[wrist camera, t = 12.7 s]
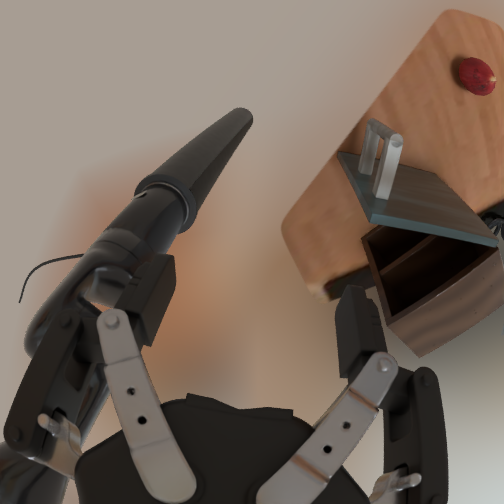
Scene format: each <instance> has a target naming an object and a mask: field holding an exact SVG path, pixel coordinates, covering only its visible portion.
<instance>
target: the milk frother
mask: <svg viewBox="0 0 504 504" xmlns="http://www.w3.org/2000/svg"><path fill="white" fill-rule="evenodd" d="M501 224H502V227H501ZM496 225H497V227H496V229H495V231H494V233H493V234H494V235H495V236H497V234H498V232H499V230H500V228H501V236H502V238H503V240H504V219H501V218H497V219H495V220H493V221H492V222H490V223H489V224H488V225H487V227H488V228H489V229H491V228H493V227H494V226H496Z"/></svg>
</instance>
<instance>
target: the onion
mask: <svg viewBox="0 0 504 504" xmlns="http://www.w3.org/2000/svg"><path fill="white" fill-rule="evenodd" d="M459 76H460V80H461V82H462V83H463V85H464V86H465V88H466V89H467V90H469V91H470V92H472V93H473V94H475V95H481V96H485V95H488V94H490V93H491V92H492V91H493V89H494V88H495V84H496V82H497V79H496V78H495V76H494V74H493V72H492V70H491V69H490V67H489V66H488V65H487V64H486V63H485V62H483V61H482V60H480V59H477V58H473V57H471V58H468V59H464V61H463V62H462V63H461V64H460V67H459Z"/></svg>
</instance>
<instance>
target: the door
mask: <svg viewBox="0 0 504 504" xmlns="http://www.w3.org/2000/svg"><path fill="white" fill-rule="evenodd" d="M380 137H381V138H382V139H384V145H383V149H382V154H381V158H380V160H379V159H375V157H376V153H377V148H378V143H379V138H380ZM402 145H403V138H402V136H401V135H400V134H398V133H397V132H395V131H394V130H392V129H390V128H389V127H387V126H386V125H384V124H382V123H381V122H379V121H377V120H376V119H373V118H372V119H369V120H368V122H367V127H366V132H365V138H364V143H363V148H362V153H361V155H356V154H350V153H345V152H340V151H338V156H337V158H338V160H339V162H340V164H341V165H342V167H343V169H344V171H345V173H346V175H347V177H348V179H349V181H350V183H351V185H352V187H353V189H354V191H355V193H356V195H357V197H358V199H359V201H360V203H361V206H362V208H363V210H364V212H365V214H366V217H367V219H368V221H369V223H372V224H378V225H385V226H390V227H396V228H402V229H408V230H413V231H419V232H424V233H429V234H434V235H439V236H444V237H449V238H454V239H459V240H464V241H469V242H473V243H478V244H482V245H487V246H491V247H496V246H497V244H498V242H499V240H498V239H497V237H496V236H495V235H494V234H493V233H492V231H491V230H490V229H489V228H488V227H487V226H486V224H485V223H484V222H483V221H482V220H481V219H480V218H479V217H478V216H477V214H476V213H475V212H474V211H473V210H472V209H471V208H470V207H469V206H468V205H467V204H466V203H465V202H464V201H463V200H462V199H461V198H460V197H459V196H458V195H457V194H456V193H455V192H454V191H453V190H452V189H451V188H450V187H449V186H448V185H447V184H446V183H445V182H444V181H442V180H441V179H440V178H439V177H438V176H437V175H436V174H433V173H430V172H427V171H423V170H420V169H416V168H412V167H408V166H404V165H401V164H398V162H399V158H400V154H401V149H402Z"/></svg>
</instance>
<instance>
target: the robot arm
mask: <svg viewBox="0 0 504 504" xmlns="http://www.w3.org/2000/svg"><path fill="white" fill-rule="evenodd" d="M132 199H133V200H132ZM132 199H131V200H132V202H131V203H130V204H129V205H128V206H127V207H126V208H125V209H124V210H123V211H122V212H121V213H120V214H119V215H118V216H117V217H116V218H115V219H114V220H113V221H112V223H111V224H110V225H109V226H108V227H107V228H106V229H105V230H104V231H103V233H102V234H101V235H100V236H99V237H98V238H97V240H96V241H95V242H94V243H93V244H92V245H91V246H90V248H89V249H88V250H87V252H86V253H85V254H78V255H72V256H66V257H61V258H57V259H53V260H49V261H47V262H44V263H42V264H40V265H38V266H37V267H35V268H34V269H33V270H32V271H31V272H30V273H29V275H28V277H27V278H26V280H25V283H24V286H23V289H22V293H21V297H20V300H19V303H20V302H21V299H22V295H23V292H24V288H25V285H26V283H27V280H28V279H29V277H30V276H31V274H32V273H33V272H34V271H35V270H37V269H38V268H40V267H41V266H43V265H46V264H49V263H51V262H55V261H60V260H65V259H71V258H78V257H82V258H81V259H80V260H79V261H78V263H77V264H76V265H75V266H74V267H73V269H72V270H71V271H70V273H69V274H68V275H67V276H66V277H65V278H64V279H63V281H62V282H61V283H60V284H59V285H58V287H57V288H56V289H55V290H54V291H53V293H52V294H51V295H50V296H49V297H48V298H47V300H46V301H45V302H44V303H43V305H42V306H41V307H40V309H39V310H38V311H37V313H36V314H35V316H34V317H33V319H32V321H31V323H30V324H29V326H28V328H27V331H26V334H25V338H24V349H25V351H26V353H27V355H28V356H30V358H31V359H32V360H31V362H30V365H29V366H28V369H27V371H26V373H25V375H24V377H23V379H22V382H21V384H20V386H19V389H18V391H17V394H16V397H15V398H14V401H13V403H12V406H11V409H10V411H9V415H8V417H7V420H6V423H5V426H4V433H3V434H4V438H5V441H4V442H2V443H0V504H62V502H63V499H64V495H65V492H66V489H67V485H68V482H69V479H70V478H71V479H73V480H75V484H76V487H77V491H78V496H79V504H447V501H448V453H447V440H446V429H445V421H444V413H443V407H442V400H441V394H440V388H439V382H438V378H437V376H436V374H435V373H434V371H432V370H431V369H430V368H428V367H420V368H418V369H417V370H416V371H415V372H413V371H410V370H407V369H404V368H402V367H399V366H398V364H397V361H396V360H395V358H394V357H393V356H391V355H390V354H389V353H388V351H387V347H386V342H385V337H384V333H383V328H382V326H381V320H380V316H379V312H378V308H377V306H376V305H375V303H374V302H373V300H372V299H368V298H366V293H365V289H364V287H362V286H355V285H347V286H346V288H345V290H344V292H343V295H342V297H341V299H340V301H339V303H338V305H337V308H336V311H335V325H336V334H337V346H338V358H339V372H340V378H348V385H347V386H346V387H345V388H344V390H343V391H342V392H341V394H340V395H339V396H338V397H337V399H336V400H335V401H334V402H333V404H332V405H331V406H330V407H329V408H328V410H327V411H326V412H325V413H324V414H323V415H322V417H321V418H320V419H319V420H318V421H317V422H316V423H315V424H314V425H313V426H311V425H309V424H308V423H307V422H305V421H303V420H302V419H300V418H297V417H295V416H293V410H292V409H281V408H272V407H263V408H253V409H237V408H234V407H232V406H229V405H227V404H224V403H222V402H220V401H218V400H216V399H213V398H209V397H204V396H199V395H195V394H190V393H187V396H186V399H176V400H171V401H168V402H165V403H163V404H161V403H160V400H159V398H158V396H157V394H156V391H155V389H154V386H153V384H152V382H151V379H150V376H149V374H148V371H147V369H146V366H145V363H144V361H143V358H142V355H141V349H142V347H143V345H146V346H150V347H151V346H152V343H153V341H154V338H155V336H156V333H157V331H158V328H159V326H160V324H161V321H162V319H163V317H164V314H165V312H166V310H167V307H168V305H169V303H170V300H171V298H172V296H173V293H174V291H175V286H176V272H175V260H174V256H173V255H168V254H166V253H167V251H168V249H169V247H170V246H171V244H172V242H173V240H174V239H175V237H176V235H177V234H178V232H179V231H180V229H181V227H182V226H183V225H184V223H185V222H186V220H187V218H188V215H189V205H188V201H187V199H186V197H185V195H184V194H183V193H182V191H181V190H180V189H178V188H177V187H176V186H174V185H172V184H170V183H167V182H162V181H158V182H153V183H150V184H149V185H147V186H146V187H145V188H144V189H143V190H142V191H141V193H140V194H138V195H136V196H135V197H134V198H132ZM90 302H94V303H98V304H101V305H104V306H107V307H110V308H113V309H108V310H106V311H104V312H101V311H100V310H99V309H98V308H96V307H95V306H94V305H92V304H91V303H90ZM110 394H111V397H112V400H113V403H114V406H115V409H116V412H117V415H118V418H119V421H120V424H121V427H122V430H120V431H119V432H117V433H115V434H114V435H112V436H111V437H109V438H107V439H106V440H104V441H103V442H101V443H99V444H97V445H96V446H94V447H92V448H91V449H89V450H87V451H86V452H84V453H82V452H81V448H82V446H83V444H84V442H85V440H86V438H87V436H88V434H89V432H90V431H91V429H92V427H93V425H94V423H95V421H96V419H97V417H98V415H99V414H100V412H101V410H102V408H103V406H104V404H105V402H106V401H107V399H108V397H109V395H110ZM378 408H380V409H383V417H384V419H383V420H384V472H383V475H382V476H380V477H379V478H378V479H377V481H376V483H375V486H374V488H373V492H372V494H371V496H370V497H369V498H368V497H367V495H366V494H365V493H364V491H363V490H362V489H361V488H360V487H359V485H358V484H357V483H356V482H355V481H354V479H353V478H352V477H351V476H350V474H349V473H348V472H347V471H346V469H345V468H344V467H343V465H342V464H343V463H344V461H345V460H346V459H347V457H348V456H349V454H350V453H351V452H352V451H353V449H354V448H355V447H356V445H357V444H358V443H359V441H360V440H361V438H362V437H363V435H364V434H365V432H366V431H367V430H368V428H369V427H370V425H371V424H372V422H373V420H374V419H375V417H376V416H377V414H378V411H379V410H378Z"/></svg>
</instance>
